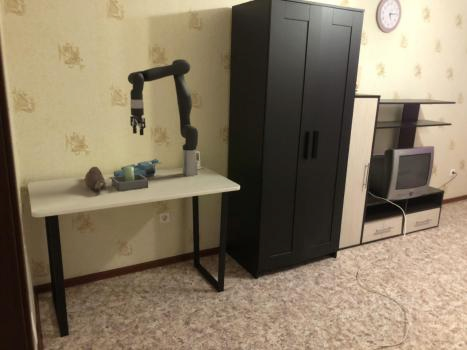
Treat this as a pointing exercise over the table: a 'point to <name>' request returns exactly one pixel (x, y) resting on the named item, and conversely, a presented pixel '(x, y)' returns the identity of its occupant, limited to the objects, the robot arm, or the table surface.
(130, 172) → the pale green rounded knob
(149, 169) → the toy
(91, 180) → the cassava root
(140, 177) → the bin
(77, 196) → the table surface
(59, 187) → the table surface
